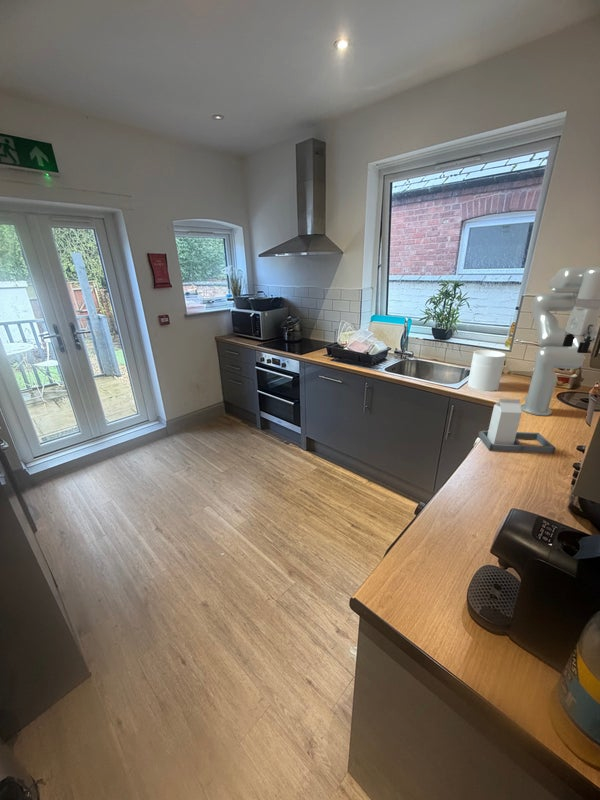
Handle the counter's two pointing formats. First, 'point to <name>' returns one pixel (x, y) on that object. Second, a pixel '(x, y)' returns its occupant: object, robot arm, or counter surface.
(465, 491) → the counter surface
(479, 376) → the canister
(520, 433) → the frame
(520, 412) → the milk carton
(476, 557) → the counter surface
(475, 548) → the counter surface
